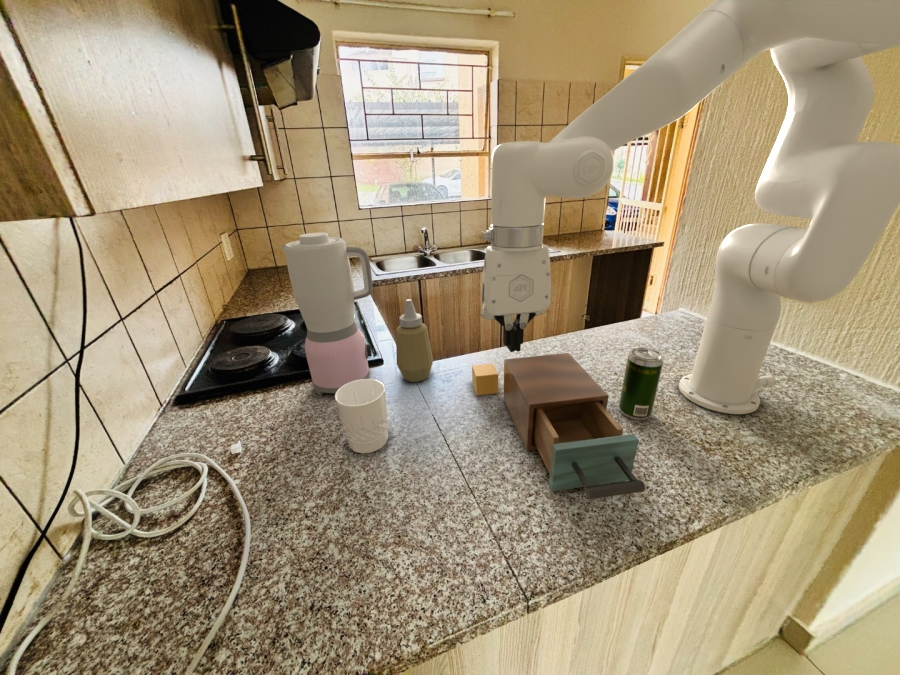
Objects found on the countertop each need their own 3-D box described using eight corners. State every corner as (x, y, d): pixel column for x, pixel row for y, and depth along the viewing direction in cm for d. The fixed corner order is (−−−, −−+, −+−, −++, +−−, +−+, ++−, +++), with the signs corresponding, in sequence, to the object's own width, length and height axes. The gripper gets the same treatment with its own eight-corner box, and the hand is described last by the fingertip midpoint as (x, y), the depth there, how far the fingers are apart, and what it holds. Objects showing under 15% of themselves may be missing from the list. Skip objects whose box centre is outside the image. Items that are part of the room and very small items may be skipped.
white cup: (399, 429, 64) (393, 382, 60) (377, 460, 57) (368, 409, 53) (361, 422, 67) (352, 375, 62) (336, 451, 60) (324, 401, 56)
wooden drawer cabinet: (601, 441, 59) (608, 395, 55) (526, 451, 58) (529, 404, 54) (564, 392, 72) (568, 352, 68) (503, 399, 71) (504, 359, 67)
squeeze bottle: (429, 386, 77) (422, 307, 69) (393, 384, 78) (382, 306, 71) (437, 368, 84) (432, 294, 76) (404, 365, 85) (396, 293, 78)
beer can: (657, 420, 63) (671, 360, 58) (626, 422, 63) (638, 362, 58) (641, 402, 68) (653, 345, 63) (613, 404, 68) (623, 347, 63)
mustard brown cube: (492, 381, 77) (493, 363, 75) (498, 393, 73) (498, 374, 71) (472, 383, 77) (471, 365, 75) (476, 395, 73) (475, 376, 71)
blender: (310, 402, 73) (270, 243, 60) (315, 373, 84) (282, 232, 71) (388, 389, 76) (366, 235, 63) (383, 363, 87) (364, 226, 74)
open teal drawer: (655, 513, 46) (667, 470, 42) (568, 526, 44) (574, 483, 41) (585, 420, 63) (590, 385, 60) (522, 428, 62) (523, 392, 59)
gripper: (472, 245, 49) (473, 363, 56) (576, 237, 50) (564, 353, 58) (462, 236, 55) (465, 343, 63) (554, 230, 57) (546, 335, 65)
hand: (512, 348), depth 61 cm, fingers closed
